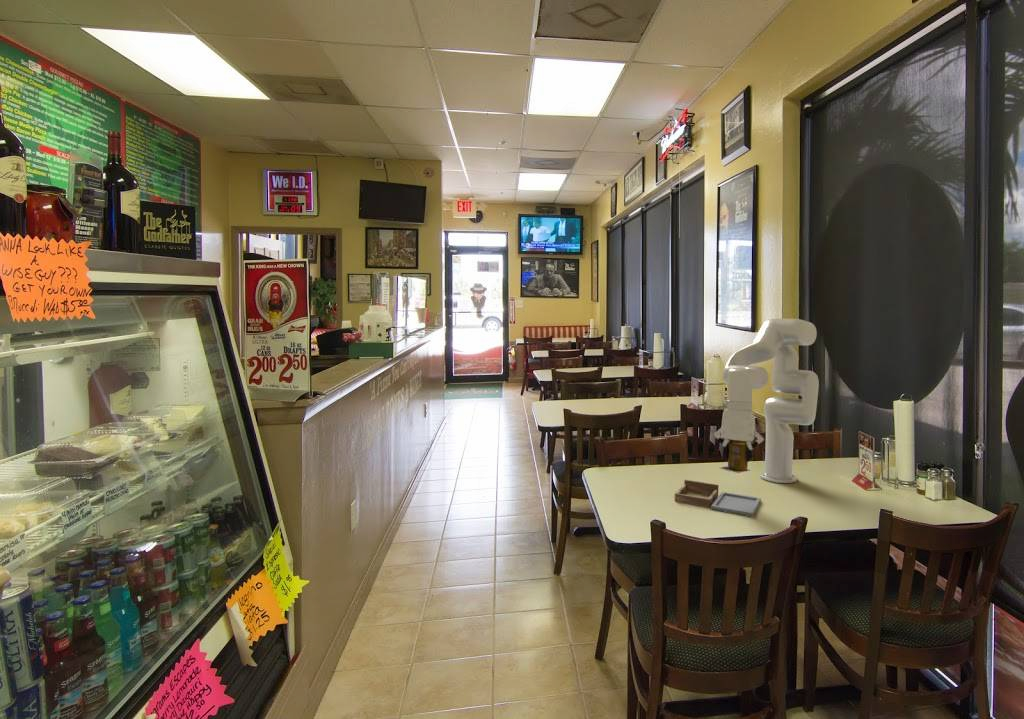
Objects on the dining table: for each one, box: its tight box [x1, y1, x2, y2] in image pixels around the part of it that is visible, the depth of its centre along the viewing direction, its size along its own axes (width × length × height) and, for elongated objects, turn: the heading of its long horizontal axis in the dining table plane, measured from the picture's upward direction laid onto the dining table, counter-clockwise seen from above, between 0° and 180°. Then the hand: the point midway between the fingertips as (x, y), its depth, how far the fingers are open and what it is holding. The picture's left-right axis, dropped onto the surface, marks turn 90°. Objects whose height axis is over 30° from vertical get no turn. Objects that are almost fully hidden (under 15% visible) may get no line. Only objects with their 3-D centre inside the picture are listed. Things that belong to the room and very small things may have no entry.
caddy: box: [674, 479, 720, 508], centre depth 189 cm, size 13×12×4 cm
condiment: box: [719, 440, 754, 474], centre depth 181 cm, size 7×8×12 cm
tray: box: [710, 491, 762, 517], centre depth 182 cm, size 16×13×1 cm
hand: (737, 458), depth 181 cm, fingers closed on condiment, 6 cm apart
